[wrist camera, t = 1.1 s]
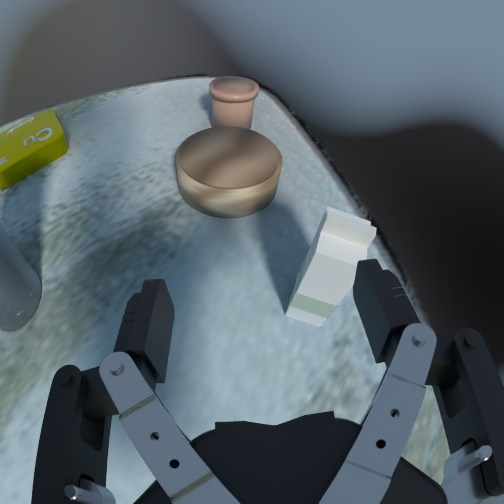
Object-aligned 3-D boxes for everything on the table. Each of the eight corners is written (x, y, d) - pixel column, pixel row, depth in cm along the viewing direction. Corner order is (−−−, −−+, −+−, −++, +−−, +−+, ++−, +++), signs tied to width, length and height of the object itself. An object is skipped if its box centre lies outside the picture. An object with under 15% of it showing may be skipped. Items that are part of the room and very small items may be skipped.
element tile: (56, 122, 51) (50, 104, 47) (71, 153, 45) (64, 131, 41) (-3, 156, 44) (-11, 138, 40) (1, 194, 39) (-10, 175, 35)
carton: (284, 315, 32) (320, 239, 21) (296, 276, 35) (331, 192, 24) (320, 327, 32) (374, 258, 21) (329, 288, 35) (378, 209, 24)
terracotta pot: (200, 130, 50) (200, 90, 43) (219, 110, 54) (221, 73, 48) (244, 141, 49) (249, 100, 42) (259, 119, 53) (264, 81, 47)
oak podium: (159, 199, 40) (155, 171, 36) (203, 142, 48) (203, 116, 44) (259, 231, 38) (264, 204, 34) (287, 165, 46) (293, 139, 42)
